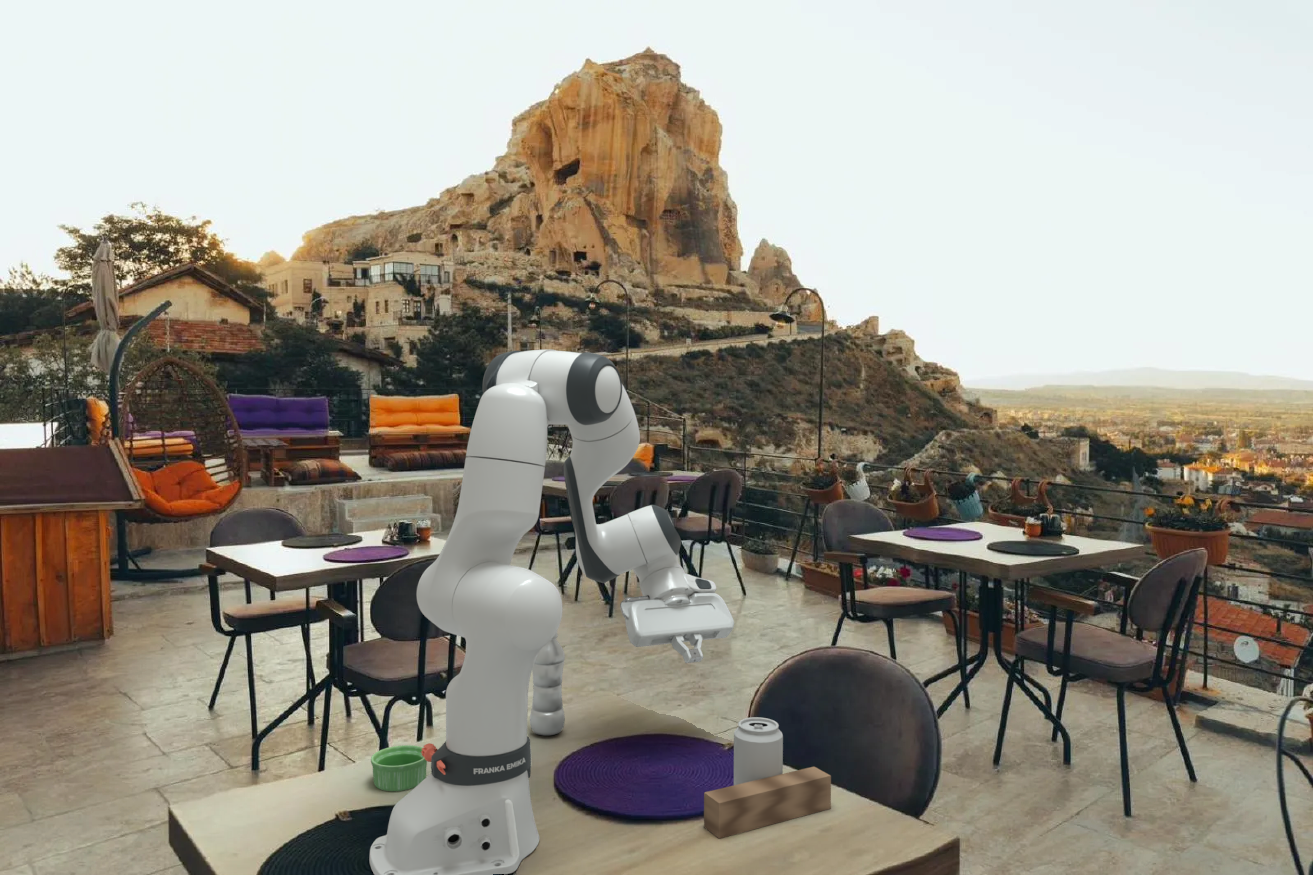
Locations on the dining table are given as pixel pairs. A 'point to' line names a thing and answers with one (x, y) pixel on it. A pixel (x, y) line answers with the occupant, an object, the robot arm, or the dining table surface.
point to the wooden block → (766, 801)
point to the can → (757, 750)
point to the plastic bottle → (548, 690)
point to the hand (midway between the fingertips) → (694, 660)
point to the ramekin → (398, 768)
